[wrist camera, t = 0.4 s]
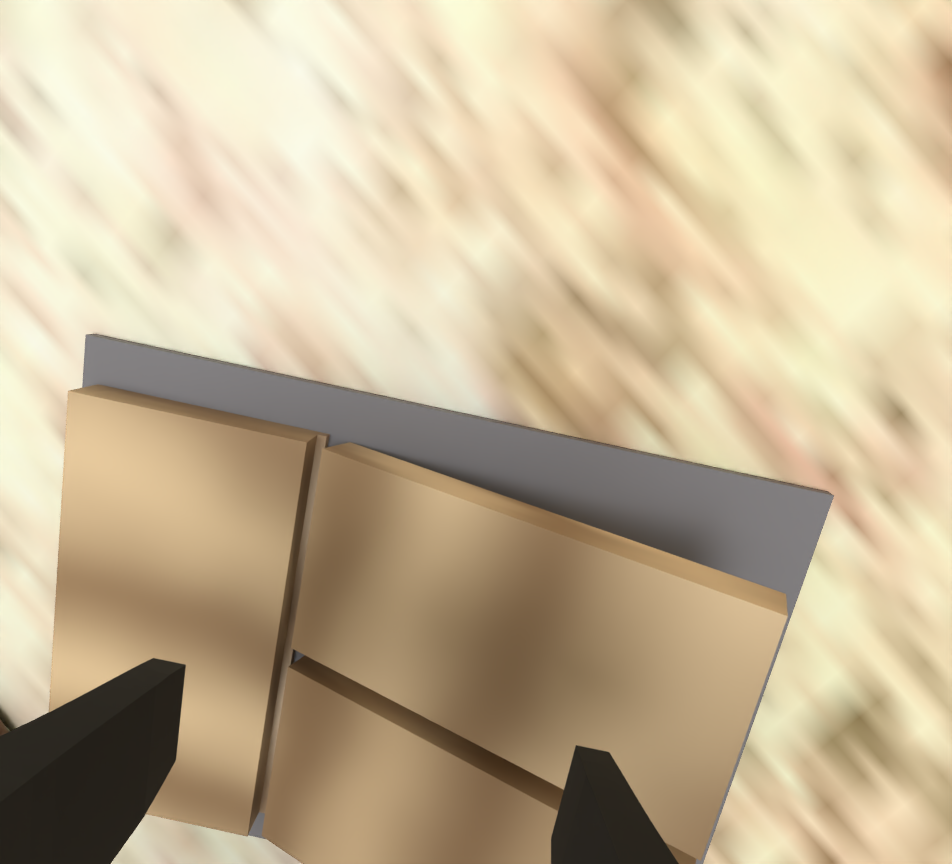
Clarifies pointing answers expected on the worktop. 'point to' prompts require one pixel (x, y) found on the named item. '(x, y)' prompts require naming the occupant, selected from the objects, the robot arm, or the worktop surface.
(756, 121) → the worktop surface
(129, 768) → the robot arm
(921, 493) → the worktop surface
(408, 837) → the oak plank
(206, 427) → the oak panel
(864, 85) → the worktop surface
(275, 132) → the worktop surface
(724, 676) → the oak plank
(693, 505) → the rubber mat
